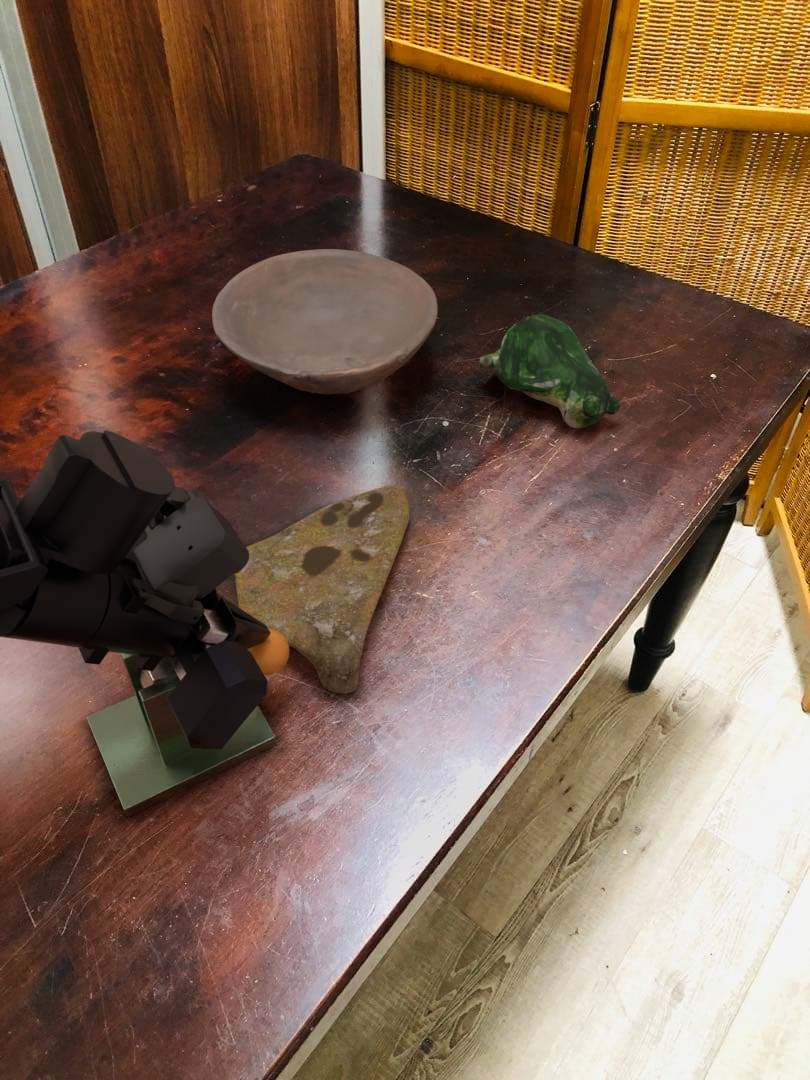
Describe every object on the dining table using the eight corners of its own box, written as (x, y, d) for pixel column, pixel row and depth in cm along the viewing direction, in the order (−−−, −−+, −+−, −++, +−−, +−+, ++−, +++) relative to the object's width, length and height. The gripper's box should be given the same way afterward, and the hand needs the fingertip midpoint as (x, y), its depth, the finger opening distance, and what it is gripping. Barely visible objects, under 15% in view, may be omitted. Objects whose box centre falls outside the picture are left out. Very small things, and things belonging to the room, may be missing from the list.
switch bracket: (230, 662, 74) (215, 586, 67) (276, 744, 69) (266, 672, 62) (89, 724, 69) (57, 650, 62) (127, 817, 64) (96, 749, 57)
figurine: (459, 369, 98) (548, 447, 91) (492, 297, 94) (588, 374, 86) (536, 369, 107) (623, 440, 100) (570, 304, 103) (663, 374, 95)
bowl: (398, 296, 114) (399, 234, 107) (465, 413, 98) (471, 348, 91) (204, 324, 108) (194, 261, 102) (242, 454, 92) (233, 387, 86)
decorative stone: (360, 702, 71) (352, 659, 68) (189, 678, 75) (174, 636, 72) (431, 518, 89) (427, 478, 86) (292, 506, 93) (283, 467, 90)
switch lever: (272, 646, 71) (280, 614, 69) (292, 678, 69) (301, 647, 67) (135, 679, 65) (140, 645, 62) (152, 716, 62) (157, 682, 60)
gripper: (213, 609, 47) (393, 645, 59) (102, 415, 57) (273, 479, 69) (104, 751, 50) (296, 758, 62) (18, 541, 60) (196, 582, 72)
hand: (265, 634), depth 66 cm, fingers closed, pressing on switch bracket
